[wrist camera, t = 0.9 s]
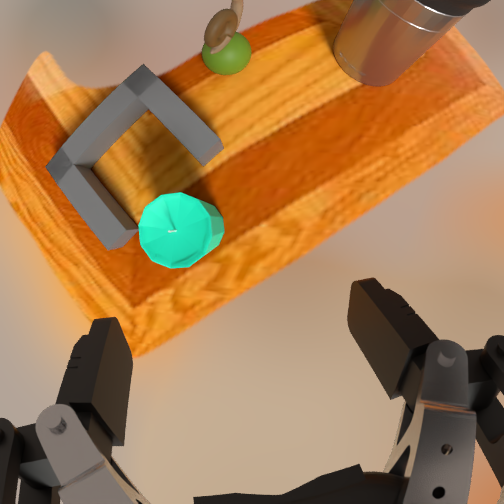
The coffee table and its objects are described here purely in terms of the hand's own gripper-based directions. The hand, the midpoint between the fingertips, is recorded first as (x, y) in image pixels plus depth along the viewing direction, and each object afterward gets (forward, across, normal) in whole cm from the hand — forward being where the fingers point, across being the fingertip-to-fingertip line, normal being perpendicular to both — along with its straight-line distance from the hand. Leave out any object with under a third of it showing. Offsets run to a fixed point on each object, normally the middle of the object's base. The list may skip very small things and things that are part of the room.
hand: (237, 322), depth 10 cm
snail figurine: (+31, -4, -12) cm, 33 cm away
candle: (+24, +2, +6) cm, 25 cm away
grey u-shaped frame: (+28, +8, -2) cm, 30 cm away
